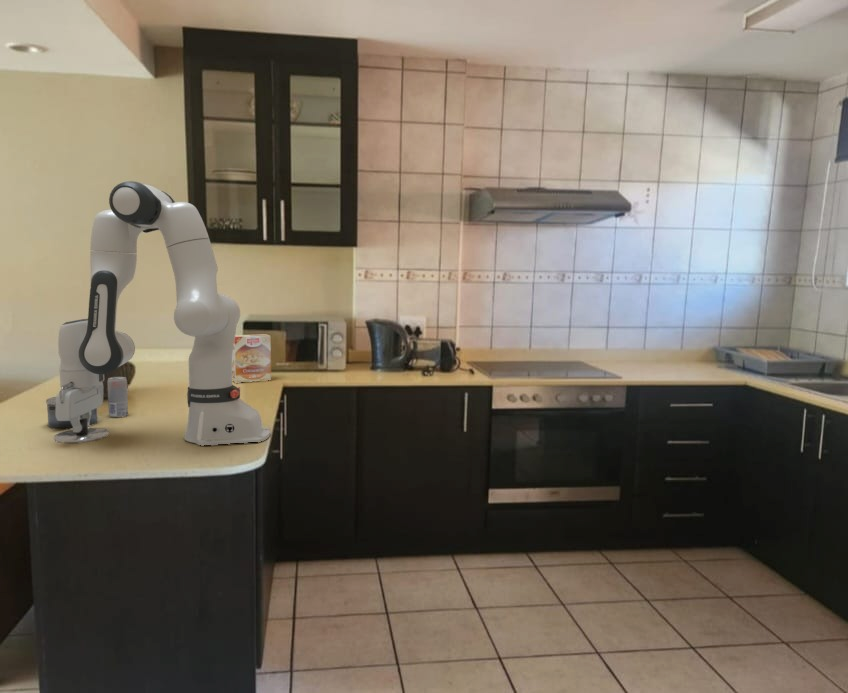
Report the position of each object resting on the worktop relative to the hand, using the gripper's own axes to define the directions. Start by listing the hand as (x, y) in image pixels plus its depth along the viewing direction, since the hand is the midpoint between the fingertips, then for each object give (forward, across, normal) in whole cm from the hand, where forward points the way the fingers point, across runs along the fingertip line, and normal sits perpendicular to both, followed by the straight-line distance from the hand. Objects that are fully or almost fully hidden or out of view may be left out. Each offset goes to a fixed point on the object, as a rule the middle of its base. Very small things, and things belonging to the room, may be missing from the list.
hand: (81, 429), depth 167 cm
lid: (+2, 0, 0) cm, 2 cm away
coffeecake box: (+2, +89, -29) cm, 94 cm away
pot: (+2, +15, +9) cm, 18 cm away
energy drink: (+2, +25, 0) cm, 25 cm away
